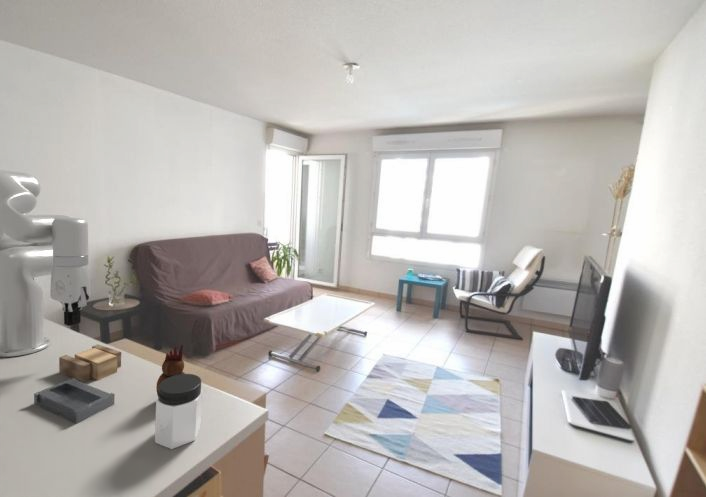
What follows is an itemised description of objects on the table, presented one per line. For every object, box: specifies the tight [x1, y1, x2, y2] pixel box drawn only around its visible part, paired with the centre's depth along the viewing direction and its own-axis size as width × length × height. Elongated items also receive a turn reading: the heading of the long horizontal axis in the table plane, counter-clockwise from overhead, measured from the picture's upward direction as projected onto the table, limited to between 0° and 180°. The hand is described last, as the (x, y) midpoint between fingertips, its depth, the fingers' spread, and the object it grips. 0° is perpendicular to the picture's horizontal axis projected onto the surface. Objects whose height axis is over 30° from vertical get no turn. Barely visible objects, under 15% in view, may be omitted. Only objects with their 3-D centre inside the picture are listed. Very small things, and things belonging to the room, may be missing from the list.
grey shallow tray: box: [33, 377, 115, 424], centre depth 76 cm, size 15×8×3 cm, turn 71°
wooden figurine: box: [155, 343, 186, 396], centre depth 80 cm, size 7×6×15 cm
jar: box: [154, 373, 203, 450], centre depth 69 cm, size 9×8×12 cm
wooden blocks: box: [58, 343, 122, 383], centre depth 91 cm, size 10×10×4 cm
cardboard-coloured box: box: [74, 347, 118, 381], centre depth 90 cm, size 10×5×5 cm, turn 69°
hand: (72, 323), depth 92 cm, fingers closed
